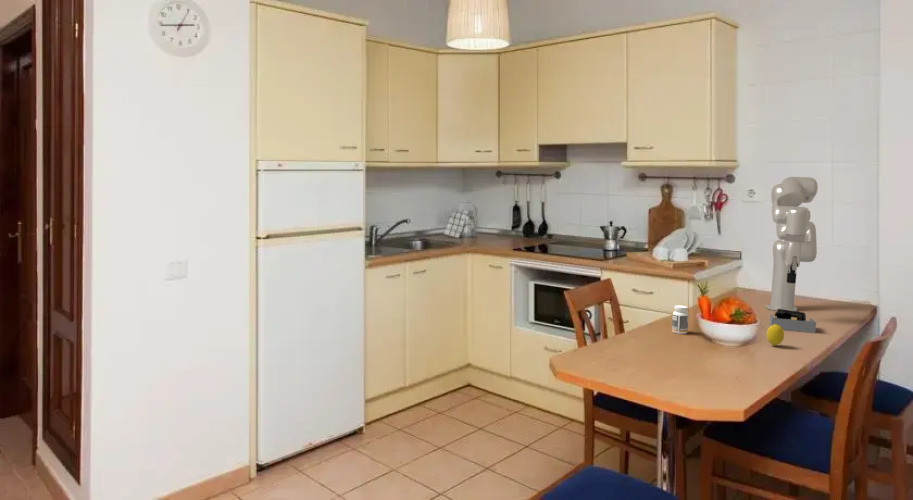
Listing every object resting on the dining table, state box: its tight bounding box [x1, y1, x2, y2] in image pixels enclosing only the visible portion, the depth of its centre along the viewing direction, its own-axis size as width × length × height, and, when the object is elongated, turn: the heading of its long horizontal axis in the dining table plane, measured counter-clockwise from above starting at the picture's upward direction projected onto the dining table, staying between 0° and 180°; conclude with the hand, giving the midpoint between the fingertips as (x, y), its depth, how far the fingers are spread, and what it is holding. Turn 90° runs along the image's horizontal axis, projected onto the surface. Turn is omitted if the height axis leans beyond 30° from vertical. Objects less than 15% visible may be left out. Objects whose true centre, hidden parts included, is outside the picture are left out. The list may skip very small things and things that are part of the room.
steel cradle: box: [769, 314, 817, 334], centre depth 269 cm, size 10×15×5 cm, turn 70°
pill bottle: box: [671, 304, 689, 335], centre depth 256 cm, size 6×6×10 cm
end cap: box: [774, 309, 807, 321], centre depth 270 cm, size 10×7×7 cm
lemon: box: [765, 324, 785, 347], centre depth 239 cm, size 6×6×8 cm
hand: (791, 282), depth 281 cm, fingers closed
